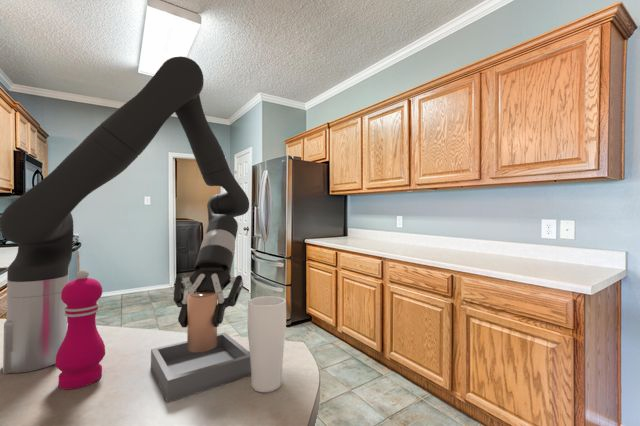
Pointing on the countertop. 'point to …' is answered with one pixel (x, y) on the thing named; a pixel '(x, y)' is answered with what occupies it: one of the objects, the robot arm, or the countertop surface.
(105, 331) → the countertop surface
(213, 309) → the terracotta cup
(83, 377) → the pepper mill
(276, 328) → the drinking glass
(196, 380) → the charcoal tray
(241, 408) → the countertop surface
